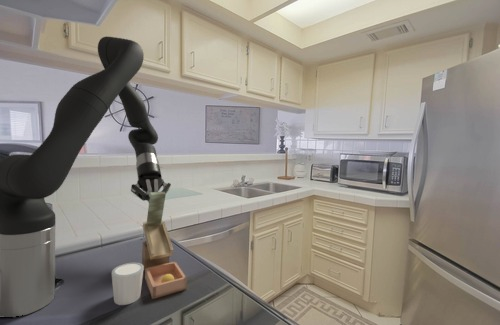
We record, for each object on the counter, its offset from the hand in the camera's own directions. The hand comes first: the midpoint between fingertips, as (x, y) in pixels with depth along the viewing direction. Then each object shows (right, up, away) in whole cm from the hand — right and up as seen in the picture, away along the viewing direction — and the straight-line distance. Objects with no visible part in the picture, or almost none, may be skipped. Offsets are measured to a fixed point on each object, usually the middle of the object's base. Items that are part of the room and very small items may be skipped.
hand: (155, 209), depth 73 cm
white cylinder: (+1, -18, -18) cm, 25 cm away
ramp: (+1, -8, -2) cm, 8 cm away
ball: (+9, -15, -14) cm, 23 cm away
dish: (+7, -18, -11) cm, 22 cm away
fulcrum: (+1, -17, -2) cm, 17 cm away
